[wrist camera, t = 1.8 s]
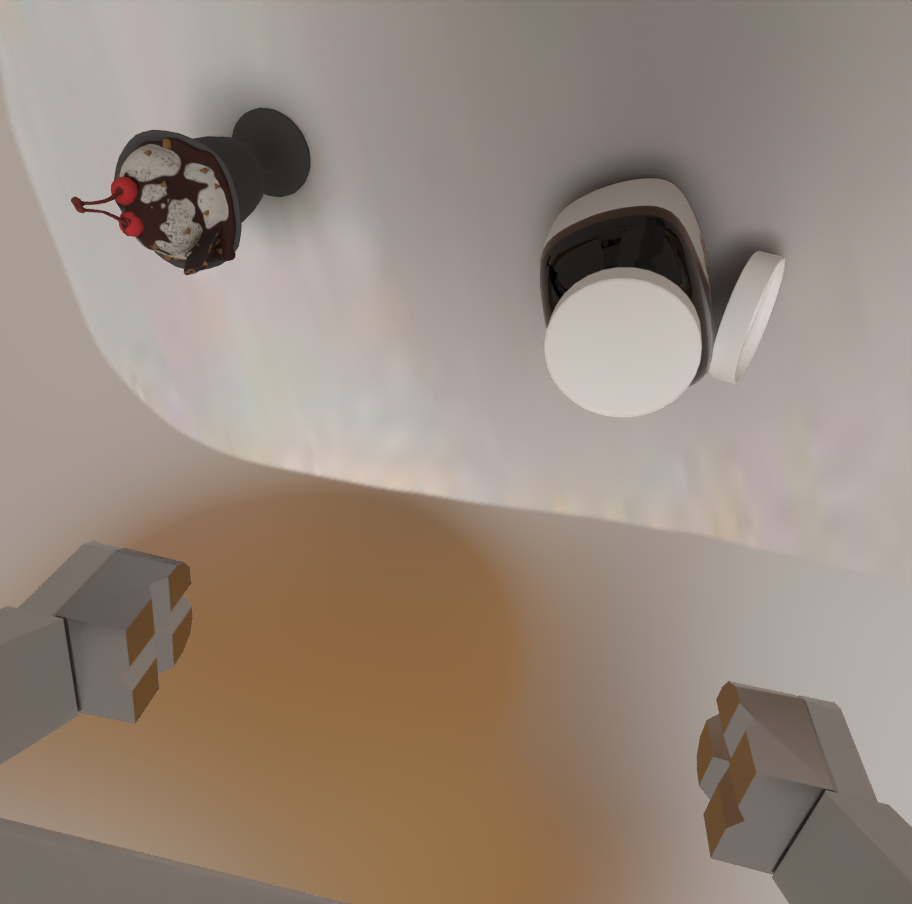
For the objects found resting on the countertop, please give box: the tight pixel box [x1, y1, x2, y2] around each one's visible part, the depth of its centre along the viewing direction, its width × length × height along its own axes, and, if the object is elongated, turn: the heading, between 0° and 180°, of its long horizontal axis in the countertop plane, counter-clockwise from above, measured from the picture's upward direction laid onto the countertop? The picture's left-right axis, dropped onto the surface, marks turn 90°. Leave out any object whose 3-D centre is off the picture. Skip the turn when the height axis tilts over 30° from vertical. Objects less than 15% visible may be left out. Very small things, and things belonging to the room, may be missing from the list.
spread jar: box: [540, 178, 785, 418], centre depth 37 cm, size 12×11×12 cm
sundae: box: [71, 108, 310, 275], centre depth 38 cm, size 7×7×15 cm
